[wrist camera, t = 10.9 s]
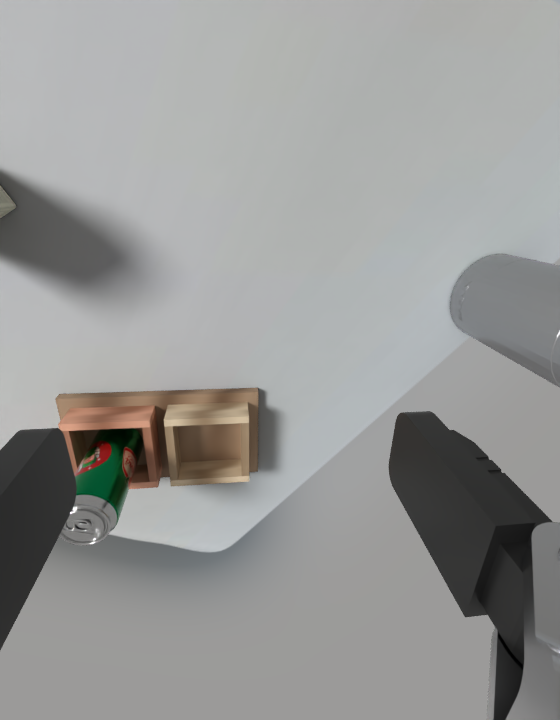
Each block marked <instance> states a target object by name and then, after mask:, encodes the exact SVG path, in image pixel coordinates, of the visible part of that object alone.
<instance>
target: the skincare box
mask: <svg viewBox="0 0 560 720" xmlns="http://www.w3.org/2000/svg"><path fill="white" fill-rule="evenodd" d="M15 208H16V205H15V203H14V202H13V201H12V200H11V198H10V197H9V196H8V195H7V193H6V192H5V191H4V189H3V188H2V187H1V186H0V218H2V217H3V216H5V215H6V214H8V213H9V212H10V211H12V210H13V209H15Z"/></svg>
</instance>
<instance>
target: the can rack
mask: <svg viewBox="0 0 560 720" xmlns="http://www.w3.org/2000/svg"><path fill="white" fill-rule="evenodd" d="M56 403H57V407H58V412H59V416H60V420H61V421H60V423H59V424H58V426H59V429H60V430H61V431H62V432H63V434H64V436H65V440H66V444H67V448H68V452H69V456H70V460H71V464H72V468H73V471H74V474H75V472H76V470H77V468H78V467H79V465H80V463H81V461H82V459H83V458H84V456H85V454H86V452H87V450H88V449H89V447H90V445H91V443H92V441H93V440H94V438H95V436H96V434H97V433H98V431H99V430H100V429H122V428H134V429H135V430H137V431H138V432H139V433H140V435H141V436H142V439H143V449H142V452H141V455H140V458H139V461H138V464H137V467H136V470H135V473H134V476H133V479H132V481H131V484H130V487H129V489H138V488H153V487H158V485H159V481H160V477H170V482H171V486H185V485H200V484H216V483H232V482H247V481H249V472H257V471H258V388H239V389H208V390H176V391H144V392H113V393H81V394H59V395H58V396H57V398H56Z"/></svg>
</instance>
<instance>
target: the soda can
mask: <svg viewBox="0 0 560 720" xmlns="http://www.w3.org/2000/svg"><path fill="white" fill-rule="evenodd" d="M142 449H143V439H142V436H141V435H140V433H139V432H138V431H137V430H135V429H134V428H122V429H100V430H99V431H98V433H97V434H96V436H95V438H94V440H93V441H92V443H91V445H90V447H89V449H88V450H87V452H86V454H85V456H84V458H83V459H82V461H81V463H80V465H79V467H78V468H77V470H76V472H75V474H74V475H75V479H76V486H77V492H76V500H75V504H74V507H73V510H72V512H71V514H70V516H69V518H68V519H67V521H66V523H65V525H64V527H63V529H62V531H61V533H60V535H59V536H60V537H61V538H62V539H63V540H65V541H67V542H69V543H72V544H76V545H91V544H95V543H98V542H100V541H102V540H103V539H104V538H105V537H106V536H107V535H108V534H109V532H110V531H112V530H113V529H114V528H115V526H116V525H117V522H118V520H119V517H120V514H121V511H122V508H123V505H124V502H125V499H126V496H127V493H128V490H129V487H130V484H131V481H132V479H133V476H134V473H135V470H136V467H137V464H138V461H139V458H140V455H141V452H142Z"/></svg>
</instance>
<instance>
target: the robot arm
mask: <svg viewBox="0 0 560 720" xmlns="http://www.w3.org/2000/svg"><path fill="white" fill-rule="evenodd" d="M450 312H451V316H452V319H453V321H454V323H455V324H456V326H457V327H458V328H459V329H460V330H461V331H462V332H464V333H466V334H468V335H469V336H471V337H473V338H475V339H476V340H478V341H480V342H482V343H483V344H485V345H487V346H488V347H490V348H492V349H494V350H495V351H497V352H499V353H500V354H502V355H504V356H506V357H507V358H509V359H511V360H513V361H514V362H516V363H518V364H520V365H521V366H523V367H525V368H527V369H528V370H530V371H532V372H534V373H535V374H537V375H539V376H541V377H542V378H544V379H546V380H548V381H549V382H551V383H553V384H554V385H557V386H558V387H560V266H559V265H555V264H550V263H545V262H540V261H536V260H531V259H527V258H522V257H517V256H512V255H507V254H495V255H490V256H487V257H484V258H482V259H480V260H478V261H477V262H475V263H473V264H472V265H471V266H470V267H469V268H468V269H467V270H465V271H464V273H463V274H462V275H461V277H460V278H459V279H458V281H457V283H456V285H455V287H454V289H453V292H452V295H451V301H450ZM389 475H390V480H391V483H392V486H393V488H394V490H395V492H396V493H397V495H398V497H399V499H400V501H401V502H402V504H403V506H404V508H405V510H406V511H407V513H408V515H409V517H410V519H411V521H412V522H413V524H414V526H415V528H416V529H417V531H418V533H419V535H420V537H421V539H422V540H423V542H424V544H425V546H426V548H427V549H428V551H429V553H430V555H431V557H432V558H433V560H434V562H435V564H436V565H437V567H438V569H439V571H440V573H441V575H442V576H443V578H444V580H445V582H446V583H447V585H448V587H449V589H450V591H451V593H452V594H453V596H454V598H455V600H456V602H457V603H458V605H459V607H460V609H461V611H462V612H463V614H464V616H465V617H471V616H479V615H488V616H489V617H490V619H491V621H492V622H493V624H494V625H495V629H494V631H493V634H492V639H491V657H490V673H489V689H488V705H487V720H560V523H558V522H552V521H551V520H550V519H549V518H548V517H547V516H546V515H545V514H544V513H543V511H542V510H541V509H539V507H537V506H536V504H535V503H534V502H533V501H532V500H531V499H529V497H528V496H527V495H526V494H524V493H523V491H521V489H520V488H519V487H518V486H517V485H516V484H515V483H514V482H513V481H512V480H511V479H510V478H509V477H508V476H507V475H506V474H505V473H502V472H501V469H500V468H499V467H498V466H497V465H496V464H495V463H494V462H493V461H492V460H489V458H488V456H487V455H486V454H485V453H484V452H483V451H482V450H481V449H480V448H479V447H478V446H477V445H476V444H475V443H474V442H472V441H471V440H469V439H468V438H466V437H464V436H463V435H461V434H459V433H458V432H456V431H454V430H449V429H448V428H447V427H446V426H445V425H444V424H443V423H442V422H441V420H440V419H439V418H438V417H437V416H436V415H435V414H434V413H432V412H430V411H426V412H405V413H400V414H399V415H398V416H397V419H396V423H395V429H394V436H393V441H392V447H391V453H390V459H389ZM76 492H77V486H76V479H75V475H74V471H73V468H72V464H71V460H70V456H69V452H68V448H67V444H66V440H65V436H64V434H63V432H62V431H61V430H60V429H58V428H51V429H30V430H20V431H18V432H17V433H16V434H15V435H14V436H13V437H12V438H11V439H10V440H9V442H8V443H7V444H6V445H5V446H4V447H3V448H2V449H1V450H0V650H1V648H2V646H3V643H4V642H5V640H6V638H7V636H8V634H9V632H10V630H11V628H12V626H13V624H14V622H15V621H16V619H17V617H18V615H19V613H20V610H21V609H22V607H23V605H24V603H25V601H26V599H27V597H28V595H29V593H30V591H31V589H32V587H33V586H34V584H35V582H36V580H37V578H38V576H39V574H40V572H41V570H42V568H43V566H44V564H45V562H46V560H47V558H48V556H49V554H50V553H51V551H52V549H53V547H54V545H55V543H56V541H57V539H58V537H59V535H60V533H61V531H62V529H63V527H64V525H65V523H66V521H67V519H68V518H69V516H70V514H71V512H72V510H73V507H74V504H75V500H76Z"/></svg>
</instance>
